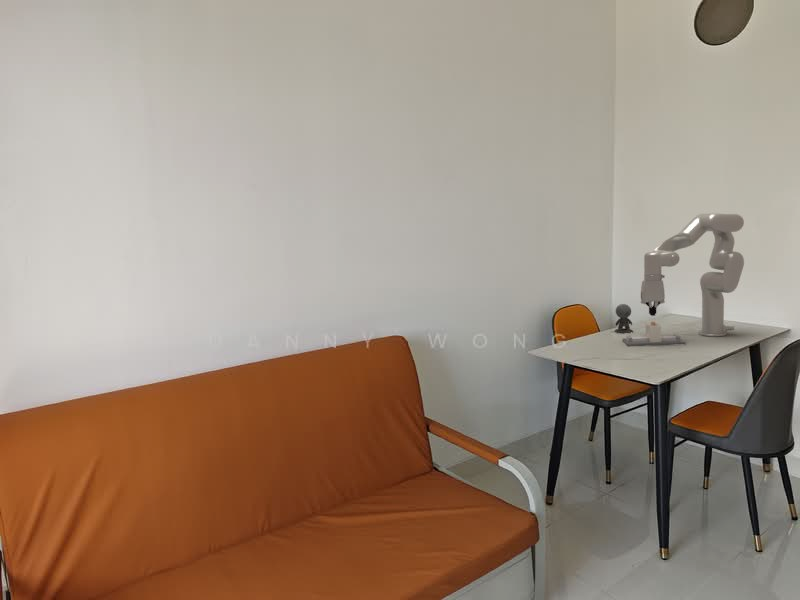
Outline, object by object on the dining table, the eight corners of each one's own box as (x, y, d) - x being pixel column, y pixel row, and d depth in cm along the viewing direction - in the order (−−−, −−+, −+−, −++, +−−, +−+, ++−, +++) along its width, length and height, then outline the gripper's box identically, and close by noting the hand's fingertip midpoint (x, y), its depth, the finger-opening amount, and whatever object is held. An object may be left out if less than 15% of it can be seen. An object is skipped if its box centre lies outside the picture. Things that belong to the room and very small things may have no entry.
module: (656, 338, 274) (656, 320, 273) (661, 342, 266) (661, 323, 265) (645, 338, 275) (645, 321, 273) (650, 342, 267) (650, 324, 266)
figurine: (629, 329, 302) (629, 302, 300) (635, 333, 293) (634, 305, 290) (613, 330, 303) (612, 303, 301) (618, 334, 293) (618, 306, 291)
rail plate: (677, 339, 274) (677, 332, 273) (685, 344, 263) (685, 337, 262) (622, 340, 278) (622, 334, 278) (627, 346, 268) (627, 339, 267)
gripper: (667, 276, 268) (666, 313, 271) (634, 277, 271) (634, 314, 274) (671, 278, 261) (671, 316, 264) (638, 279, 264) (638, 317, 266)
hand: (652, 315), depth 269 cm, fingers closed
